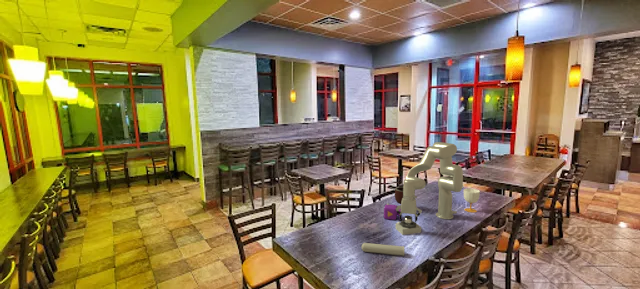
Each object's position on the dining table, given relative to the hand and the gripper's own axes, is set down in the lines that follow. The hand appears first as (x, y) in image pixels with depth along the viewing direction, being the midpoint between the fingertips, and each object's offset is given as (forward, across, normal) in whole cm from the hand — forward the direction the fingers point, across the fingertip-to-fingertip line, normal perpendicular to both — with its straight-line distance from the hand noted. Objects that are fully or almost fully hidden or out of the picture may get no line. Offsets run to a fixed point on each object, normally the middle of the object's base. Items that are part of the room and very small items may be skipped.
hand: (408, 220), depth 191 cm
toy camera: (+7, +12, -20) cm, 24 cm away
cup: (+7, -49, -51) cm, 71 cm away
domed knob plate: (+7, 0, 0) cm, 7 cm away
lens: (+3, 0, 0) cm, 3 cm away
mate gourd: (+7, +3, -42) cm, 43 cm away
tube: (+8, +15, +34) cm, 38 cm away
